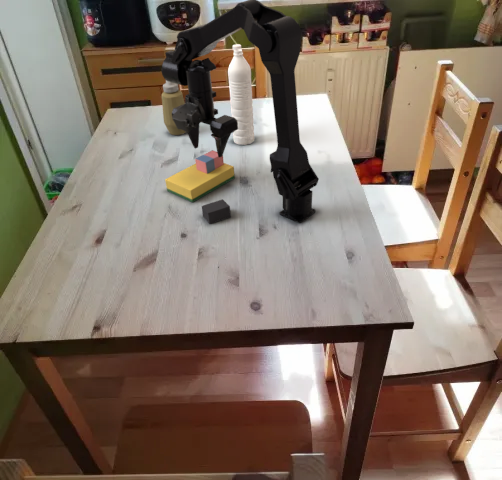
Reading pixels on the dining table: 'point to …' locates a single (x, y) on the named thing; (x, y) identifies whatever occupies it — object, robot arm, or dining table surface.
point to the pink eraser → (209, 162)
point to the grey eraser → (216, 211)
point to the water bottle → (241, 97)
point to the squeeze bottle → (171, 105)
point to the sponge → (198, 181)
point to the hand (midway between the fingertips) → (208, 152)
